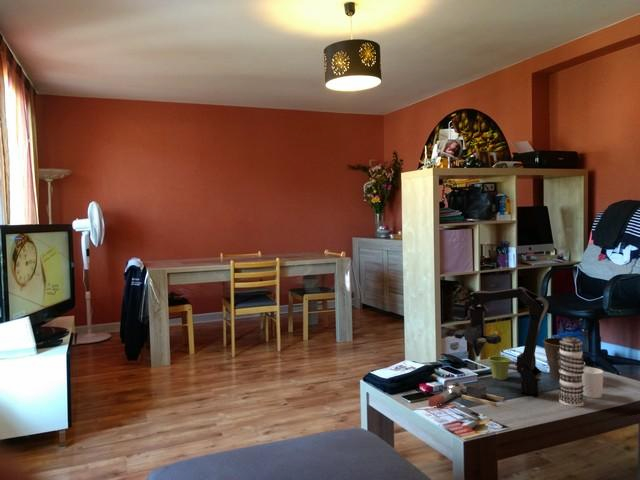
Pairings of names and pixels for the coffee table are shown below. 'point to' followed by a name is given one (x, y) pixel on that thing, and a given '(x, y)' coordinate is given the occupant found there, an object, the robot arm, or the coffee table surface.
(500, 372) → the plant pot
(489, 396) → the guide rails
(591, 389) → the white cup
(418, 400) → the coffee table surface
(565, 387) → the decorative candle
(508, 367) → the c clamp
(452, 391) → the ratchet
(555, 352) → the plant pot
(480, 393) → the socket
